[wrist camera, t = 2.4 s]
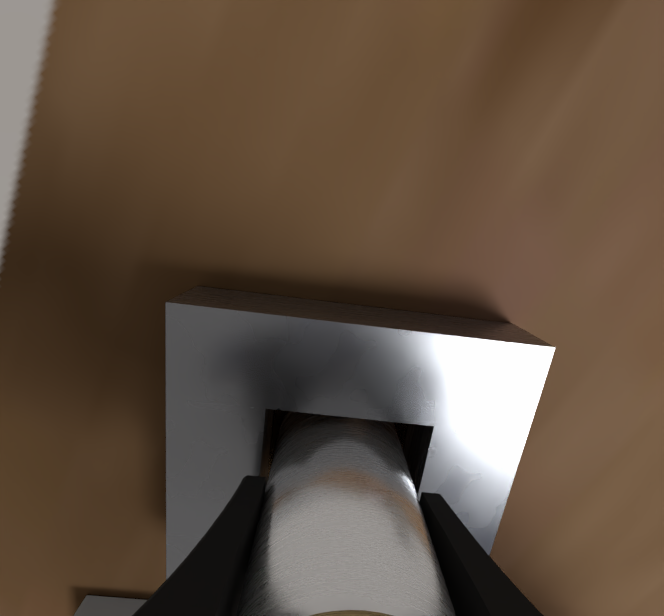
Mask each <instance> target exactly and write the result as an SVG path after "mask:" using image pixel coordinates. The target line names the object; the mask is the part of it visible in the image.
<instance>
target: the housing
mask: <svg viewBox="0 0 664 616" xmlns="http://www.w3.org/2000/svg"><path fill="white" fill-rule="evenodd" d="M554 350H555V347H553V346H551V345H550V344H548V343H546V342H544V341H543V340H541V339H539V338H537V337H535V336H534V335H532V334H530V333H528V332H527V331H525V330H523V329H521V328H519V327H518V326H516V325H514V324H512V323H504V322H495V321H487V320H479V319H470V318H462V317H454V316H445V315H437V314H428V313H420V312H412V311H403V310H395V309H387V308H378V307H370V306H361V305H353V304H345V303H336V302H328V301H319V300H311V299H303V298H294V297H286V296H278V295H269V294H261V293H252V292H244V291H236V290H227V289H219V288H211V287H202V286H197V287H195V288H193V289H191V290H189V291H187V292H185V293H183V294H181V295H179V296H177V297H175V298H173V299H171V300H169V301H167V302H166V580H167V579H168V578H169V577H170V575H171V574H172V573H173V572H174V571H175V570H176V569H177V568H178V566H179V565H180V564H181V563H182V562H183V561H184V559H185V558H186V557H187V556H188V555H189V553H190V552H191V551H192V550H193V548H194V547H195V546H196V545H197V544H198V542H199V541H200V540H201V539H202V538H203V536H204V535H205V534H206V532H207V531H208V530H209V528H210V527H211V526H212V524H213V523H214V522H215V520H216V519H217V518H218V516H219V515H220V514H221V512H222V511H223V509H224V508H225V506H226V505H227V504H228V502H229V501H230V499H231V498H232V496H233V495H234V493H235V491H236V490H237V488H238V486H239V485H240V483H241V481H242V479H243V478H244V477H245V476H247V475H250V476H261V477H266V483H265V490H266V486H267V479H268V468H269V457H270V446H271V435H272V424H273V413H274V410H283V411H293V412H302V413H312V414H322V415H331V416H341V417H350V418H360V419H369V420H379V421H388V422H398V423H407V424H408V425H407V430H406V435H405V440H404V444H403V449H402V450H403V453H404V456H405V459H406V462H407V465H408V469H409V472H410V475H411V478H412V481H413V484H414V487H415V490H416V493H417V496H418V500H419V501H420V497H421V493H422V492H427V493H437V494H440V495H441V496H442V497H443V498H444V500H445V501H446V502H447V503H448V505H449V506H450V507H451V509H452V510H453V511H454V512H455V514H456V515H457V516H458V518H459V519H460V520H461V521H462V523H463V524H464V525H465V527H466V528H467V529H468V530H469V532H470V533H471V534H472V535H473V537H474V538H475V539H476V540H477V542H478V543H479V544H480V545H481V547H482V548H483V549H484V550H485V551H486V553H487V554H488V555H490V552H491V549H492V546H493V542H494V539H495V536H496V533H497V530H498V527H499V524H500V520H501V517H502V514H503V511H504V508H505V505H506V501H507V498H508V495H509V492H510V489H511V486H512V483H513V479H514V476H515V473H516V470H517V467H518V464H519V461H520V457H521V454H522V451H523V448H524V445H525V442H526V439H527V435H528V432H529V429H530V426H531V423H532V420H533V416H534V413H535V410H536V407H537V404H538V401H539V398H540V394H541V391H542V388H543V385H544V382H545V379H546V376H547V372H548V369H549V366H550V363H551V360H552V357H553V354H554Z"/></svg>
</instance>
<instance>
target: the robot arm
mask: <svg viewBox="0 0 664 616" xmlns="http://www.w3.org/2000/svg"><path fill="white" fill-rule="evenodd" d="M265 483H266V477H261V476H250V475H247V476H245V477H244V478H243V479H242V481H241V483H240V485H239V486H238V488H237V490H236V491H235V493H234V495H233V496H232V498H231V499H230V501H229V502H228V504H227V505H226V506H225V508H224V509H223V511H222V512H221V514H220V515H219V516H218V518H217V519H216V520H215V522H214V523H213V524H212V526H211V527H210V528H209V530H208V531H207V532H206V534H205V535H204V536H203V538H202V539H201V540H200V541H199V542H198V544H197V545H196V546H195V547H194V548H193V550H192V551H191V552H190V553H189V555H188V556H187V557H186V558H185V559H184V561H183V562H182V563H181V564H180V565H179V566H178V568H177V569H176V570H175V571H174V572H173V573H172V574H171V575H170V577H169V578H168V579H167V580H166V581H165V582H164V583H163V584H162V585H161V586H160V587H159V588H158V590H157V591H156V592H155V593H154V594H153V595H152V596H151V597H150V598H149V599H148V600H147V601H146V602H145V603H144V604H143V605H142V606H141V607H140V608H139V609H138V610H137V611H136V612H135V613H134V614H133V615H132V616H236V614H237V610H238V606H239V602H240V597H241V593H242V589H243V584H244V580H245V576H246V572H247V567H248V563H249V559H250V554H251V550H252V546H253V542H254V537H255V533H256V529H257V524H258V520H259V516H260V512H261V507H262V503H263V499H264V495H265ZM419 503H420V506H421V509H422V512H423V515H424V518H425V521H426V524H427V527H428V531H429V534H430V537H431V540H432V543H433V546H434V549H435V552H436V555H437V558H438V562H439V565H440V568H441V571H442V574H443V577H444V580H445V583H446V586H447V589H448V593H449V596H450V599H451V602H452V605H453V608H454V611H455V614H456V616H543V615H542V614H541V613H540V612H539V611H538V610H537V609H536V608H535V607H534V606H533V605H532V604H531V602H530V601H529V600H528V599H527V598H526V597H525V596H524V595H523V594H522V593H521V592H520V591H519V589H518V588H517V587H516V586H515V585H514V584H513V583H512V582H511V581H510V579H509V578H508V577H507V576H506V575H505V574H504V573H503V572H502V570H501V569H500V568H499V567H498V566H497V565H496V563H495V562H494V561H493V560H492V559H491V557H490V556H489V555H488V554H487V553H486V551H485V550H484V549H483V548H482V547H481V545H480V544H479V543H478V542H477V540H476V539H475V538H474V537H473V535H472V534H471V533H470V532H469V530H468V529H467V528H466V527H465V525H464V524H463V523H462V521H461V520H460V519H459V518H458V516H457V515H456V514H455V512H454V511H453V510H452V509H451V507H450V506H449V505H448V503H447V502H446V501H445V500H444V498H443V497H442V496H441V495H440V494H437V493H427V492H422V493H421V497H420V501H419Z"/></svg>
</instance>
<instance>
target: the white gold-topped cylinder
mask: <svg viewBox="0 0 664 616" xmlns="http://www.w3.org/2000/svg"><path fill="white" fill-rule="evenodd" d="M236 616H456V614H455V611H454V608H453V605H452V602H451V599H450V596H449V593H448V589H447V586H446V583H445V580H444V577H443V574H442V571H441V568H440V565H439V562H438V558H437V555H436V552H435V549H434V546H433V543H432V540H431V537H430V534H429V531H428V527H427V524H426V521H425V518H424V515H423V512H422V509H421V506H420V503H419V500H418V496H417V493H416V490H415V487H414V484H413V481H412V478H411V475H410V472H409V469H408V465H407V462H406V459H405V456H404V453H403V450H402V447H401V444H400V441H399V438H398V434H397V431H396V428H395V425H394V422H388V421H379V420H369V419H360V418H350V417H341V416H331V415H322V414H312V413H302V412H293V411H288V413H287V414H286V415H285V417H284V419H283V421H282V424H281V427H280V430H279V435H278V439H277V443H276V447H275V452H274V456H273V460H272V464H271V469H270V473H269V477H268V482H267V486H266V490H265V495H264V499H263V503H262V507H261V512H260V516H259V520H258V524H257V529H256V533H255V537H254V542H253V546H252V550H251V554H250V559H249V563H248V567H247V572H246V576H245V580H244V584H243V589H242V593H241V597H240V602H239V606H238V610H237V614H236Z"/></svg>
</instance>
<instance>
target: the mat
mask: <svg viewBox="0 0 664 616" xmlns="http://www.w3.org/2000/svg"><path fill="white" fill-rule="evenodd" d="M146 601H147V600H141V599H128V598H116V597H103V596H91V595H86V597H85V598H84V600H83V602H82V603H81V605H80V606H79V608H78V609H77V611H76V612H75V614H74V616H132V615H133V614H134V613H135V612H136V611H137V610H138V609H139V608H140V607H141V606H142V605H143V604H144V603H145V602H146Z"/></svg>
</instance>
